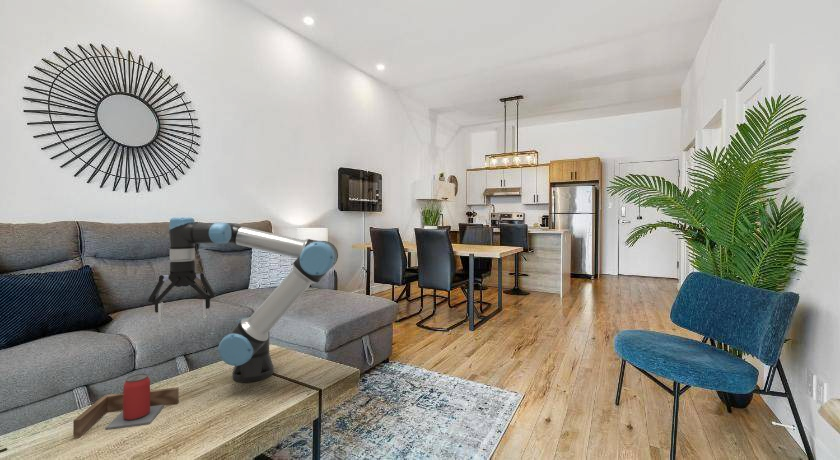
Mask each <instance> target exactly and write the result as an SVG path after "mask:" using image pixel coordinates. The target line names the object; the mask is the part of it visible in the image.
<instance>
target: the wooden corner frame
mask: <svg viewBox="0 0 840 460" xmlns="http://www.w3.org/2000/svg"><path fill="white" fill-rule="evenodd" d="M179 393H180V390H179V387H178V386H177V387H176V386H175V387H169V388H168V387H167V388H161V389H160V388H158V389H150V406H157V405H164V406H171V405H177V404H178V403H179V402H180V401H179V398H180V397H179ZM122 411H123V393H122V392H121V393H113V394H106V395H103V396H102V397H100V398H99V399H97V400H96V401H95V402H94V403H93V404H92V405H91V406H88V408H87V409H85V411H83V412H82V413H81V414H79V416H77V417H76V418H75V419H73V427H72V428H73V436H72V437H73V439H77V438H81V437H82V436H83V435H84V434H85V433H87V432H88V431H89V430H90V429H91V428H92V427H93V426H94V425H95V424H96V423H98V422H99V421H100V419H101V418H103V417H104V416H105V415H106V414H107V413H112V412H122Z"/></svg>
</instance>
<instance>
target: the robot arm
mask: <svg viewBox="0 0 840 460" xmlns="http://www.w3.org/2000/svg"><path fill="white" fill-rule="evenodd" d="M168 225H169V227H168V228H169V229H168V232H169V235H168V237H169V260H170V262H169V275H167V274H159V276H158V282H157V283H156V285H155V288H154V289H153V291H152V292H151V295H150V296H149V298H148V299H147V302H148V303H152V304H154V312H155V313H156V314H157V315H158V316H157V318H158V323H162V322H164V302H163V301H162V300H163V299H164V298H165V297H166V296H167V295H168V294H169V293H170V292H171V291H172V290H173V288H175V287H176V288H180V287H191V288H193V289H194V290H195V291H196V292H197V293H198V294H199V295H200V296H201V297H202V298H203V300H202V318H203V319H207V317H208V309H210V308H211V299H213V298H215V297H216V296H217V294H216V292H215V291H214V289H213V288H212V286H211V284H210V282H209V280H208V279H207V277H206V276H207V275H206V273H205V272H202V273H201V272H200V273H196V261H195V258H196V254H195V253H196V251H195V249H196V248H195V245H198V244H199V245H200V244H202V245H203V244H205V245H206V244H209V245H210V244H217V245H220V244H221V245H222V244H231V245H237V246H242V247H247V248H250V249H255V250H260V251H264V252H269V253H273V254H278V255H281V256H285V257H286V256H287V257H291V258H295V260H294V261H293V262H292V270H291V271H290V272H289V273H288V274H287V276H285V277H284V279H283V280H282V281H281V282H280V283H279V284H278V286H276V287H275V289H274V290H273V291H272V292H271V293H270V294H269V295H268V297H267V298H266V299H265V300H264V301H263V302H262V303H261V304H260V306H259V307H258V308H257V309H255V311H254V312H253V313H252V314H251V315H250V317H242V318H241V317H240V318H239V319H238V321H237V325H236V326H235V327H234V328H233V329H232V330H231V331H230V332H229V333H228V334H226V335H224V337H223V338H222V340H221V341H220V342H219V344H218V346H217V347H218V348H217V350H218V355H219V357H220V359H221V361H223V362H224V363H225V364H227V365H229V366H234V367H233V370H232V375H231V377H232V380H233V381H235V382H238V383H252V382H258V381H262V380H265V379H268V378H269V377H270V376H272V375H273V374H274V371H275V367H274V366H275V365H274V363H273V360H272V357H271V354H270V333H271V332H270V331H271V330H272V328H274V327H275V326H276V325H277V323H278V322H279V321H280V320H281V318H282V317H283V316H284V315H285V314H286V313H287V312H288V311H289V310H290V308H292V307H293V305H294V304H296V302H297V300H299V298H300V297H301V296H302V295H303V294H305V291H307V289H309V287H310V286H311V285H312V284H319V282H320V281H321V280H322V279H323V277H324V276H325V275H327V273H328V272H329V271H330V270H331V269H332V268H333V267H334V266H335V265H336V263H337V261H338V258H339V252H338V249H337V247H336V246H335V245H334V243H332V242H330V241H326V240H316V239H311V238H307V239H305V240H303V239H299V238H296V237H295V238H294V237H291V236H290V237H289V236H286V235H281V234H277V233H272V232H268V231H264V230H261V229H260V230H259V229H255V228H251V227H246V226H241V225H237V224H235V223H231V222H201V223H199V222H198V223H197V222H195V219H194V218H193V217H172V218H170V219H169V224H168ZM197 278H198V280H200V281H201V283H202V285H203V286H204V288H205V290H204V289H203V287H201V286H200V285H199V284H198V283H197V282H196V281H195V280H196V279H197ZM167 280H169V281H170V282H171V283H169V285H168V286H167V287H166V288H165V289H164V290H163V291H162V292H161V294H159V293H160V291H161V289H162V287H163V285H164V283H165V282H166V281H167ZM206 291H207V292H206ZM158 294H159V295H158ZM157 296H158V297H157Z"/></svg>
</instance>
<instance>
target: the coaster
mask: <svg viewBox="0 0 840 460" xmlns="http://www.w3.org/2000/svg"><path fill="white" fill-rule="evenodd" d="M163 408H165V405H157V406H150V412H149V413H148V414H147V415H145V416H144V417H142V418H139V419H135V420H126V419H124V418H123V410H122V411H120V413H118V415H117V416H115V418H113V420H112V421H111V422H109V424H108V425H107V426H106V427H105V431H107V430H115V429H122V428H124V429H125V428H129V427H137V426H145V425H151V424H152V422H153V421H154V420H155V418H156V417H157V416H158V415H159V414H160V412H161V411H162V409H163Z"/></svg>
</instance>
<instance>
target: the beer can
mask: <svg viewBox="0 0 840 460" xmlns="http://www.w3.org/2000/svg"><path fill="white" fill-rule="evenodd" d="M150 390H151V379H150V376H149V374H148V373H137V374H132V375H130V376H128V377H127V378H125V382H124V384H123V389H122V391H123V410H122V411H123V418H124V419H126V420H135V419H139V418H142V417H144V416H145V415H147V414H148V413H149V412H150Z"/></svg>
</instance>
